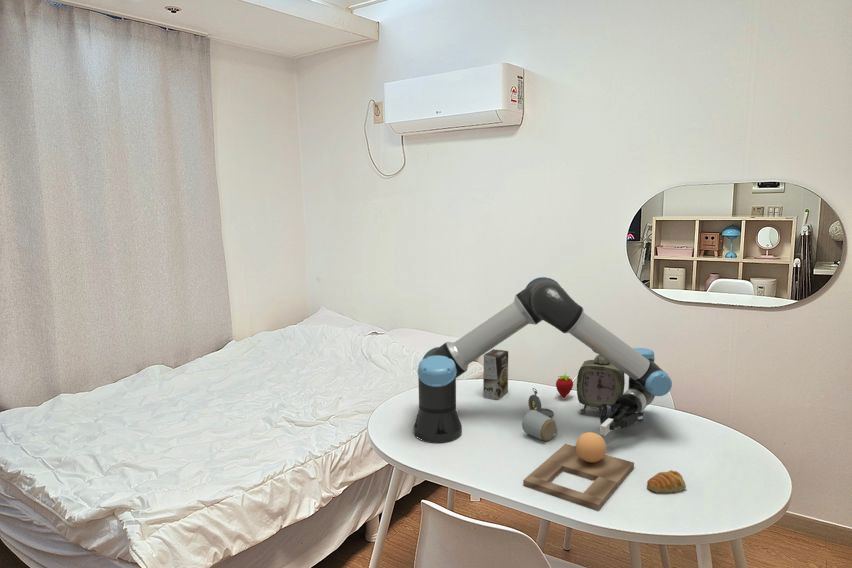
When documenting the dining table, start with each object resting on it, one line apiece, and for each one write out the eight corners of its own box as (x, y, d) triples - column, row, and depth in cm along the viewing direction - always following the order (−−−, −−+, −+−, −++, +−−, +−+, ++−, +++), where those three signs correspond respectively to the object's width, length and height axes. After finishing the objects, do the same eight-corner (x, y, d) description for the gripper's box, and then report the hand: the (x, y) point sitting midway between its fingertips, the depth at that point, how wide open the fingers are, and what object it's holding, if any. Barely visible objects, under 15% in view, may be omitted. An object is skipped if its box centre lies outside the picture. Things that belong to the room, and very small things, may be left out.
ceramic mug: (541, 445, 173) (542, 420, 172) (521, 436, 179) (522, 412, 178) (564, 435, 179) (565, 412, 178) (543, 427, 186) (544, 404, 185)
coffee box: (498, 400, 209) (499, 357, 206) (482, 397, 212) (482, 354, 209) (508, 392, 217) (509, 350, 214) (492, 389, 220) (493, 348, 217)
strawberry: (575, 396, 211) (576, 370, 209) (568, 403, 205) (569, 376, 203) (560, 393, 214) (560, 367, 213) (552, 400, 208) (553, 373, 207)
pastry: (658, 498, 144) (659, 484, 143) (639, 485, 150) (640, 471, 149) (688, 490, 147) (688, 476, 146) (668, 478, 153) (668, 465, 153)
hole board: (523, 485, 150) (523, 480, 150) (565, 448, 171) (565, 443, 170) (598, 510, 138) (598, 504, 138) (633, 467, 159) (634, 462, 158)
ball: (570, 462, 159) (571, 435, 158) (582, 451, 165) (583, 425, 164) (599, 470, 154) (600, 442, 153) (609, 459, 160) (611, 432, 159)
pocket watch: (556, 413, 196) (557, 385, 194) (547, 422, 189) (548, 393, 187) (533, 408, 201) (534, 381, 199) (524, 417, 194) (524, 388, 192)
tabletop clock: (575, 414, 195) (577, 343, 190) (580, 405, 203) (582, 336, 199) (620, 421, 189) (624, 347, 184) (624, 411, 197) (627, 340, 193)
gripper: (650, 420, 180) (625, 448, 162) (609, 411, 188) (580, 437, 170) (652, 397, 179) (626, 423, 161) (610, 389, 187) (581, 413, 168)
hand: (602, 430), depth 165 cm, fingers closed
